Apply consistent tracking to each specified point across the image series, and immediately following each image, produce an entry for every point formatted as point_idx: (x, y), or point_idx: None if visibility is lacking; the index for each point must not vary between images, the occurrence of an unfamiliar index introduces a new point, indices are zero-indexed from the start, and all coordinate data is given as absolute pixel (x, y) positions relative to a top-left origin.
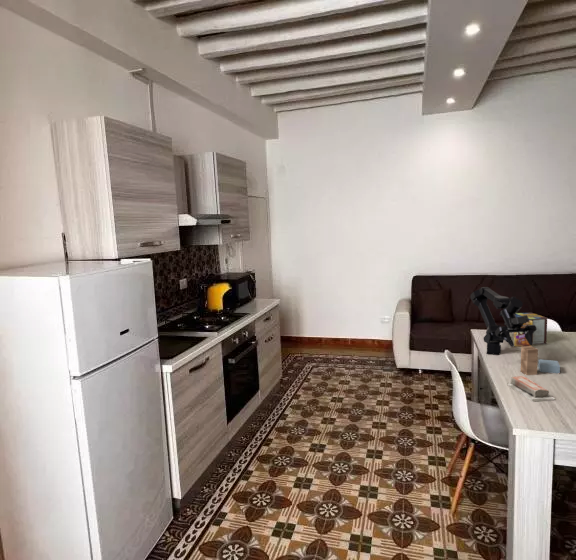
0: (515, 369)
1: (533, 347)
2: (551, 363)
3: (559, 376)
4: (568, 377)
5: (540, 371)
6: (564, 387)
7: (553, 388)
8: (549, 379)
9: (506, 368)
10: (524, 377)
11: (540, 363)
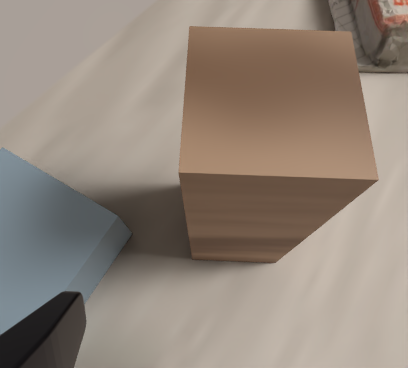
0: (287, 322)
1: (195, 103)
2: (6, 217)
3: (79, 132)
4: (42, 110)
5: (129, 232)
6: (182, 10)
7: (243, 9)
8: (176, 103)
9: (352, 365)
10: (404, 4)
11: (99, 236)
